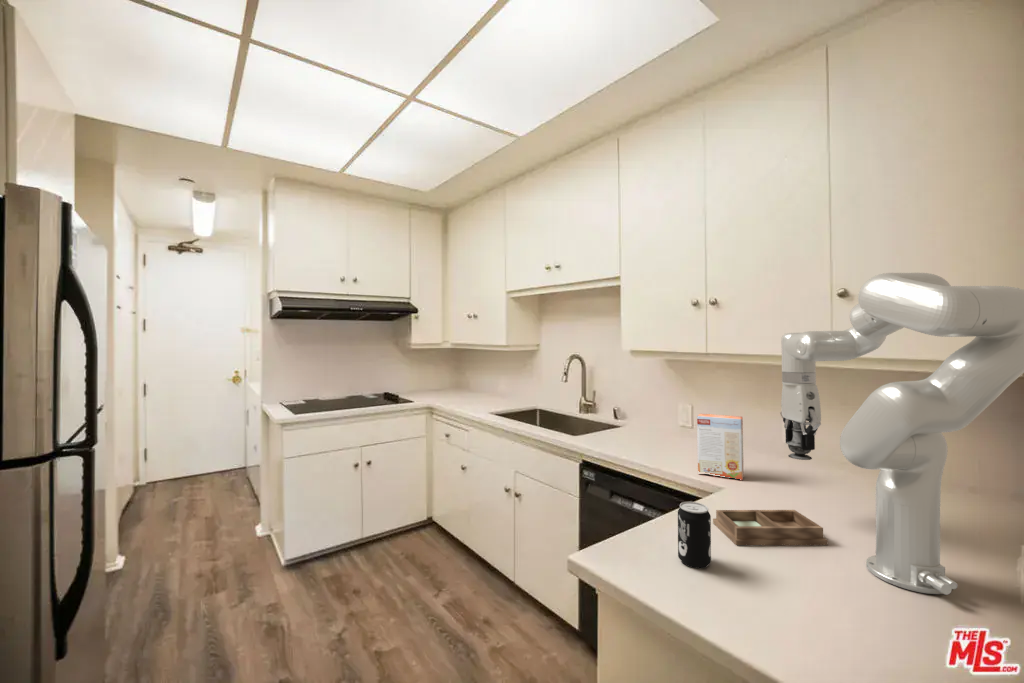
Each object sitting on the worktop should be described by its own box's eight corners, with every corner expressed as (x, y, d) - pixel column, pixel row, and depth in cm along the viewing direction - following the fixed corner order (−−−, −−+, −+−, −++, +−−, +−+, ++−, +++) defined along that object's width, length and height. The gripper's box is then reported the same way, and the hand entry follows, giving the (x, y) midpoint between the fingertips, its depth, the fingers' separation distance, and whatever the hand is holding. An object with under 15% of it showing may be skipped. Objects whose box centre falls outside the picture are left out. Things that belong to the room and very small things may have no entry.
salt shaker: (817, 460, 110) (816, 414, 110) (792, 459, 112) (791, 413, 112) (807, 454, 116) (806, 410, 116) (783, 453, 118) (782, 410, 118)
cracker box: (743, 476, 148) (743, 415, 148) (742, 481, 143) (742, 418, 143) (700, 469, 155) (699, 412, 155) (697, 474, 150) (696, 415, 150)
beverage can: (708, 573, 88) (708, 515, 88) (675, 564, 92) (674, 508, 92) (712, 558, 94) (712, 504, 94) (681, 551, 97) (680, 498, 97)
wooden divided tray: (794, 522, 111) (794, 508, 111) (827, 545, 99) (827, 529, 99) (713, 523, 112) (712, 508, 112) (736, 545, 100) (736, 529, 100)
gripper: (836, 381, 105) (837, 455, 105) (793, 376, 122) (794, 439, 122) (804, 382, 106) (805, 455, 106) (766, 376, 123) (767, 439, 123)
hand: (799, 445), depth 114 cm, fingers closed on salt shaker, 5 cm apart
